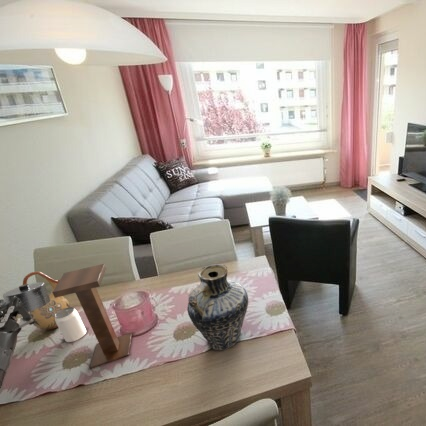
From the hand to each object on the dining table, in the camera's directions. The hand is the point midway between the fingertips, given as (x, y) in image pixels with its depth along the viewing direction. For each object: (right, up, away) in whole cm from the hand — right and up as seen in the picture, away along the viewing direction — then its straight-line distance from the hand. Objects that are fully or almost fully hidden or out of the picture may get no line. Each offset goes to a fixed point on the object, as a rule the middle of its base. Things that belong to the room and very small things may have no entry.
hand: (9, 299), depth 79 cm
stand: (+11, -26, +24) cm, 37 cm away
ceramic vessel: (-21, -22, +38) cm, 49 cm away
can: (-8, -24, +32) cm, 40 cm away
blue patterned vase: (+51, -23, +27) cm, 61 cm away
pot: (0, -5, +4) cm, 7 cm away
